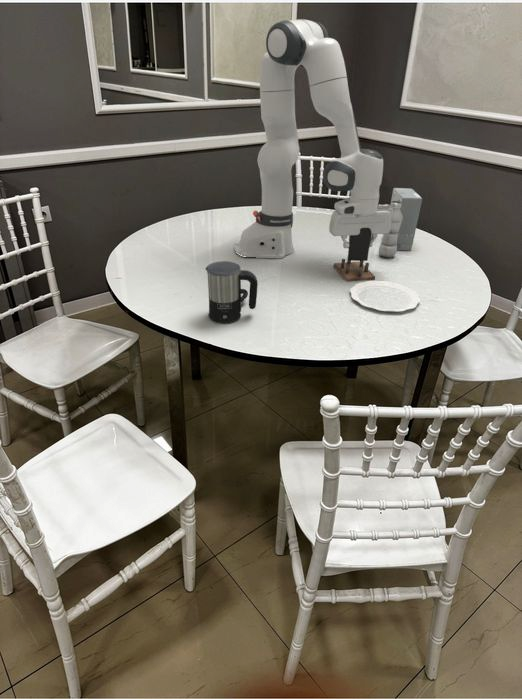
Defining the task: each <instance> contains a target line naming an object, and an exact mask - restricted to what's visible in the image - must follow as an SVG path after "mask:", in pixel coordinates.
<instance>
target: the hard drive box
mask: <svg viewBox="0 0 522 699" xmlns="http://www.w3.org/2000/svg"><path fill="white" fill-rule="evenodd" d="M391 194H392V195H391V200H390V202H391V201H400V202H402V204H401V208H400V211H401V213H402V215H403V219H402V223H401V226H400V229H399V233H398V238H397V251H409V252H410V251H412V249H413V243H414V239H415V236H416V230H417V225H418V221H419V216H420V212H421V207H422V202H423V198H422V197H421V195H419V194H418V193H417V191H415V190H414V189H413V188H407V187H406V188H405V187H404V188H403V187H394V188H393V189H392V193H391ZM389 208H391V207H389Z"/></svg>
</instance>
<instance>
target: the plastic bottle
mask: <svg viewBox="0 0 522 699" xmlns="http://www.w3.org/2000/svg"><path fill="white" fill-rule="evenodd" d="M401 204H402V202H400V201H391V200H390V204H389V205H390V206H392V208H393V214H392V216H391V230H390V232H389V233H388V234H382V238H381V241H380V245H379V247H378V253H379V255H380V256H381V257H383V258H394V257H395V256H396V254H397V252H398V250H397V238H398V233H399V229H400V226H401V223H402V219H403V215H402V213H401V211H400V208H401Z"/></svg>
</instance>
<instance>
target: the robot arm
mask: <svg viewBox="0 0 522 699" xmlns="http://www.w3.org/2000/svg"><path fill="white" fill-rule="evenodd" d="M265 48H266V52H265V53H264V54H263V56H262V57H261V62H260V73H259V98H260V114H261V116H260V117H261V121H262V123H263V126H264V127H263V128H264V131H265V136H266V138H265V139H266V143H264V144H263V145H262V147H261V148H260V150H259V152H258V155H257V165H258V168H259V176H260V182H261V183H260V184H261V209H260V211H258V210H255V209H254V210H253V211H252V215H253V217H254V218H255V221H254V222H253V223H252V224H251V225H249V226H248V227H246V228H245V229H243V231H242V233H241V236H240V240H239V241H237V242H236V243H234V247H233V249H235V250H234V252H235V251H236V252H237V253H238V254H240V255H242V256H246V257H256V258H255V259H284V258H285V257H286V256H288V255H290V254H292V253H293V252H294V251H295V247H294V243H293V234H292V228H293V225H294V212H293V203H294V202H293V201H294V200H293V199H294V188H293V181H292V180H293V179H292V177H293V176H292V168H293V166H294V165H295V164H296V162H297V161H298V158H299V157H300V156H299V155H300V145H299V136H298V129H297V121H296V97H295V96H296V95H295V94H296V93H295V86H296V85H295V75H296V70H297V69H298V68H299V67H304V69H305V70H306V73H307V78H308V86H309V92H310V98H311V102H312V104H313V107H314V109H315V111H316V112H317V113H318V114H319V115H320V116H322V117H324V118H326V119H327V120H329V121H330V122H331V123H332V124H333V126H334V128H335V131H336V135H337V139H338V144H339V149H340V153H341V154H340V157H338V158H336V159H334V160H332V161H330V162H328V163H327V164H326V165H325V168H324V169H323V174H322V178H323V182H324V184H325V186H326V187H327V189H329V190H330V191H333V192H350V196H349V197H347V198H344V199H342V200H339V201H336V202H335V203H334V209H335V210H334V211H333V212H332V214H331V216H330V222H329V225H328V226H329V228H328V232H329V233H330V234H331V235H332V236H333V237H340V238H341V240H342V247H343V249H349V244H350V243H349V241H347V239H348V237H349V235H358V234H359V233H360V229H361V228H370V229H371V230H372V235H371V242H370V247H369V248H372V247H373V245H374V244H373V243H374V242H375V241H376V239H377V238H378V235H383V234H388V233H389V232H390V230H391V216H392V214H393V208H392V206H390V205H391V204H379V201H380V200H379V199H380V187H381V185H382V180H383V173H384V158H383V156H382V154H381V153H380V152H378V151H377V150H374V149H370V148H362V146H361V144H360V138H359V132H358V128H357V123H356V122H357V121H356V118H355V113H354V109H353V105H352V102H351V98H350V97H351V96H350V89H349V85H348V83H349V82H348V76H347V75H348V74H347V70H346V62H345V59H344V55H343V52H342V48H341V46H340V43H339V42H338V41H337V40H336V39H335V38H332V37H329V35H328V31H327V29H326V27H325V26H324V25H323V24H321V22H319V21H316V20H313V19H311V20H308V19H304V18H303V19H302V18H297V19H293V20H292V19H291V20H286V19H285V20H281V21H278V22H276V23H274V24H273V25H272V26H270V28H269V30H268V32H267V34H266V39H265ZM390 207H391V208H390ZM236 252H235V253H236Z"/></svg>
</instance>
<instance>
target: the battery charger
mask: <svg viewBox="0 0 522 699" xmlns="http://www.w3.org/2000/svg"><path fill="white" fill-rule="evenodd" d="M371 235H372V230H371V229H370V228H361V229H360V233H359V234H358V235H349V236H348V243H350V244H349V248H347V249H348V250H347V251H348V253H347V260H351V261H352V262H360V261H364V262H365V261H368V260H369V252H370V248H371V247H370V242H371V237H372V236H371Z"/></svg>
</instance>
